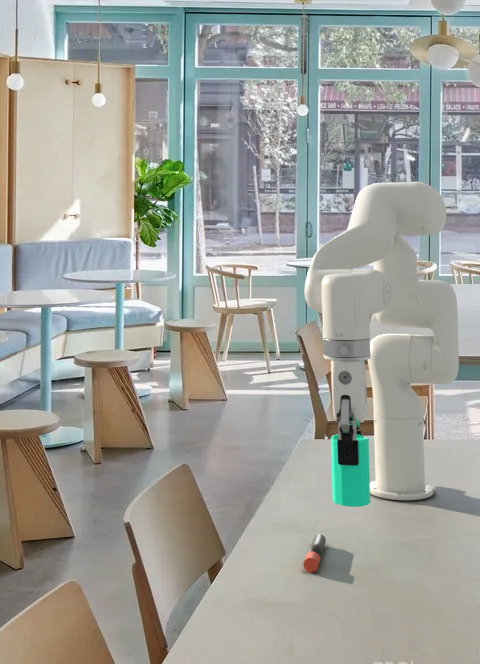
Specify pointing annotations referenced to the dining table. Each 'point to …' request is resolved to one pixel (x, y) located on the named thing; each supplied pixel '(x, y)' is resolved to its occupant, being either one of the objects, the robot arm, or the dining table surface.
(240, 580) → the dining table surface
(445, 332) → the robot arm
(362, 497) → the candle
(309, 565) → the marker
